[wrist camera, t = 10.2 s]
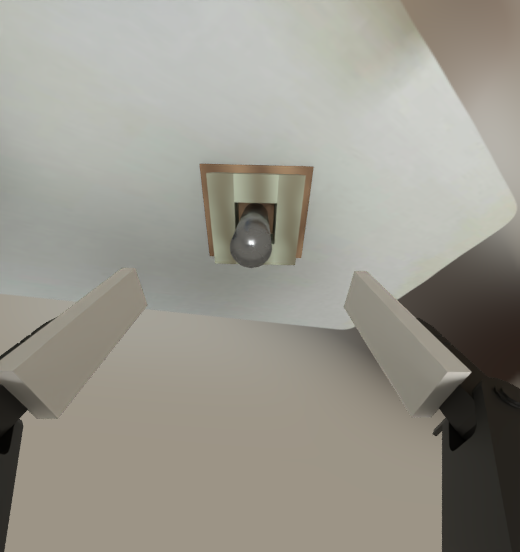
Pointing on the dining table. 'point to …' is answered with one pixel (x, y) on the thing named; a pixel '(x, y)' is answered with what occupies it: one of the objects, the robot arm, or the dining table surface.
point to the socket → (256, 189)
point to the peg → (252, 237)
